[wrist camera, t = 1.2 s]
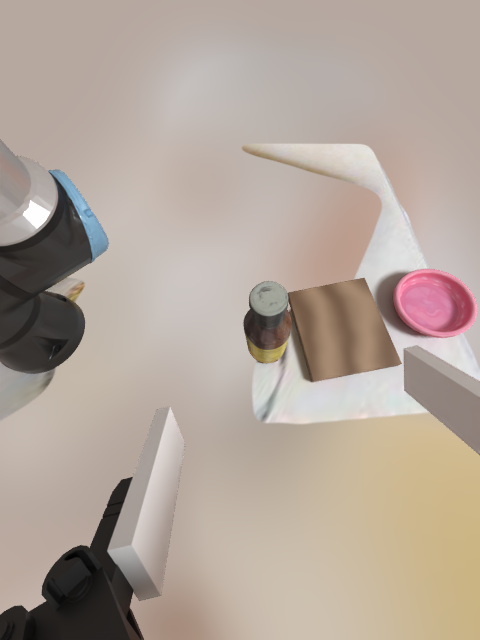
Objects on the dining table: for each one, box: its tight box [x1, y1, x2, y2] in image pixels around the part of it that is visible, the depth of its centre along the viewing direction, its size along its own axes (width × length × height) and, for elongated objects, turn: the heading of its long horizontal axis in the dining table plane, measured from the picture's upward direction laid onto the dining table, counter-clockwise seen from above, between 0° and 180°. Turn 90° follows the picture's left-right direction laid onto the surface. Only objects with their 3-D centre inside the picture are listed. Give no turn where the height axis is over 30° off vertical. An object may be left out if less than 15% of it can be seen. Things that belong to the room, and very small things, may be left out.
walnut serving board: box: [288, 278, 402, 382], centre depth 44 cm, size 14×16×2 cm
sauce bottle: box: [244, 281, 292, 363], centre depth 36 cm, size 7×6×20 cm
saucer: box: [393, 269, 477, 338], centre depth 44 cm, size 12×12×3 cm
